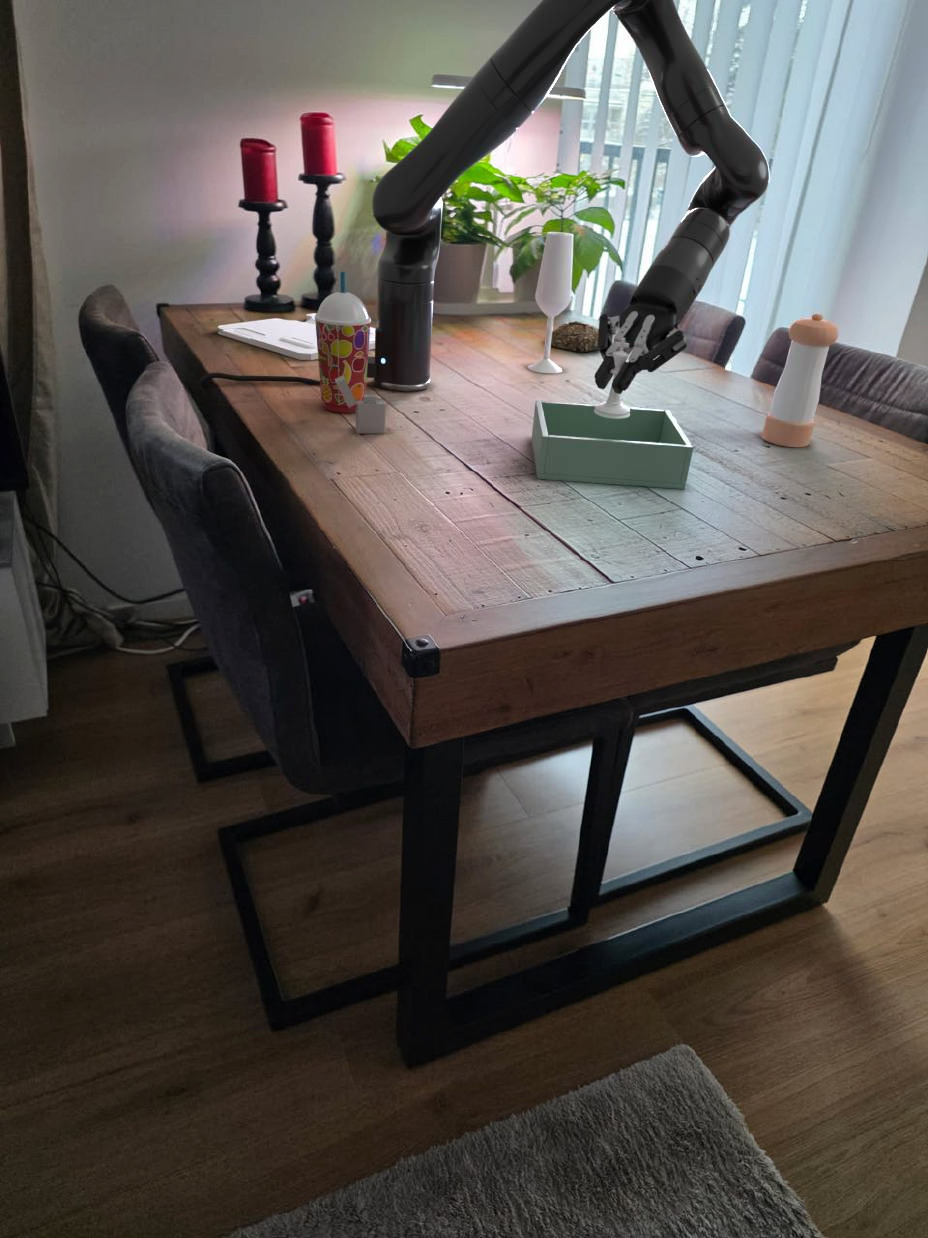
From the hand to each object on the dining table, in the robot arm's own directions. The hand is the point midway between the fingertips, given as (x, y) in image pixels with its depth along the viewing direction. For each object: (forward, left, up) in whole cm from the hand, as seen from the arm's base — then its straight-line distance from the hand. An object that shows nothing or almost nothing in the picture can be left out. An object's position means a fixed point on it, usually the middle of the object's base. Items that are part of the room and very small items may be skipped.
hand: (607, 387), depth 113 cm
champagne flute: (-4, +53, -11) cm, 55 cm away
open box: (+1, +1, -11) cm, 11 cm away
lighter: (-34, +7, -11) cm, 36 cm away
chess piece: (+1, +2, -4) cm, 5 cm away
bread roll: (+4, +76, -11) cm, 77 cm away
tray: (-51, +65, -11) cm, 84 cm away
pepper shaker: (+32, +18, -11) cm, 39 cm away
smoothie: (-38, +18, -11) cm, 43 cm away
